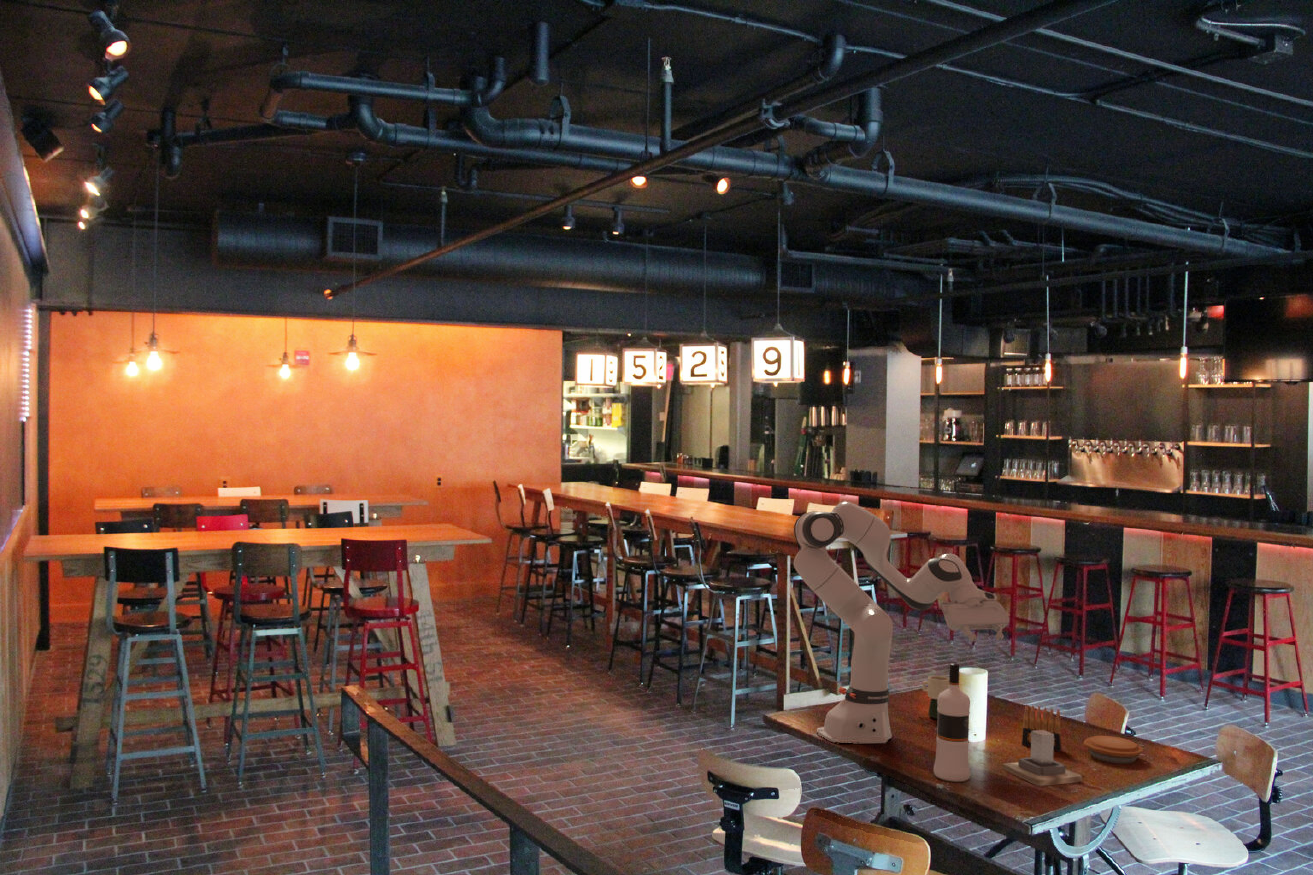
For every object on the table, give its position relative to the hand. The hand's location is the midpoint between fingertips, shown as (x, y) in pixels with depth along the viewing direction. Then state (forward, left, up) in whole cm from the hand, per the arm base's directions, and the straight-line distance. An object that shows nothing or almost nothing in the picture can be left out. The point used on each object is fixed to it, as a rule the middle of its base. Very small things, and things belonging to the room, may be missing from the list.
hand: (987, 639), depth 293 cm
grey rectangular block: (-2, -26, -30) cm, 40 cm away
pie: (+30, -18, -32) cm, 47 cm away
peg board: (-2, -26, -31) cm, 41 cm away
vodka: (-27, -21, -31) cm, 46 cm away
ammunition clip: (+16, -5, -31) cm, 36 cm away
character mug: (+5, +30, -31) cm, 44 cm away
